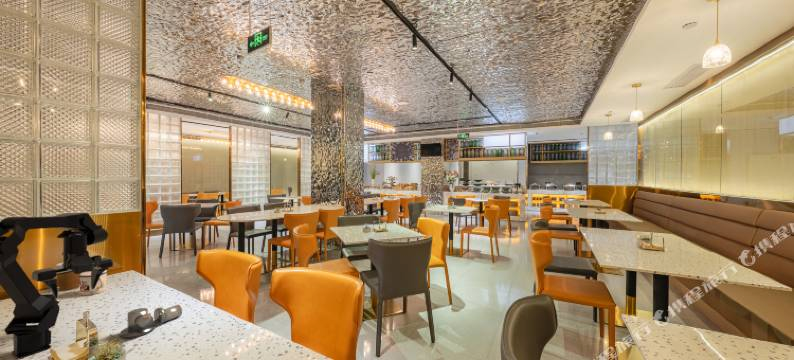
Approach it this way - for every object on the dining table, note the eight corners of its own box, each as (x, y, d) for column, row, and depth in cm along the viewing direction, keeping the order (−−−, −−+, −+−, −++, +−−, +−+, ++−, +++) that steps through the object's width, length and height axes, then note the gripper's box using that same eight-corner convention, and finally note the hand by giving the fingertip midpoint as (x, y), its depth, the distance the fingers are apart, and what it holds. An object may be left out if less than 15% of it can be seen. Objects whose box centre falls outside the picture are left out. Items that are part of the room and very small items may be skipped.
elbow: (124, 330, 101) (124, 312, 101) (142, 323, 106) (142, 306, 106) (137, 336, 97) (138, 318, 97) (156, 329, 102) (156, 311, 102)
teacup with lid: (74, 294, 134) (74, 268, 134) (100, 287, 143) (100, 262, 143) (89, 298, 130) (89, 271, 130) (115, 290, 139) (115, 265, 139)
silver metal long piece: (128, 341, 96) (128, 323, 96) (114, 334, 100) (114, 318, 100) (185, 318, 112) (185, 303, 112) (171, 313, 116) (171, 299, 116)
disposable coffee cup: (87, 287, 143) (87, 262, 143) (57, 293, 135) (57, 267, 134) (81, 283, 148) (81, 259, 148) (52, 289, 140) (52, 263, 140)
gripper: (44, 257, 93) (44, 307, 93) (120, 245, 110) (120, 288, 110) (31, 253, 98) (31, 301, 98) (105, 242, 114) (105, 283, 115)
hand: (75, 293), depth 105 cm, fingers open, 9 cm apart
